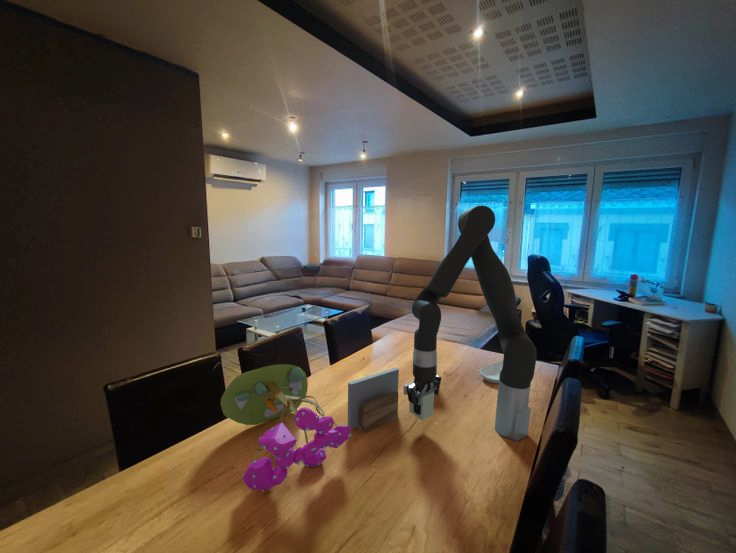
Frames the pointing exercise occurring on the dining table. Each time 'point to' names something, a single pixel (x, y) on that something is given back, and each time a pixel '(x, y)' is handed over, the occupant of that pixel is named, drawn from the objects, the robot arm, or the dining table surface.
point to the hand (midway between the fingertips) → (423, 410)
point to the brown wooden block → (378, 412)
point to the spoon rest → (492, 372)
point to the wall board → (369, 391)
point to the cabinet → (422, 404)
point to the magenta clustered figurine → (272, 400)
